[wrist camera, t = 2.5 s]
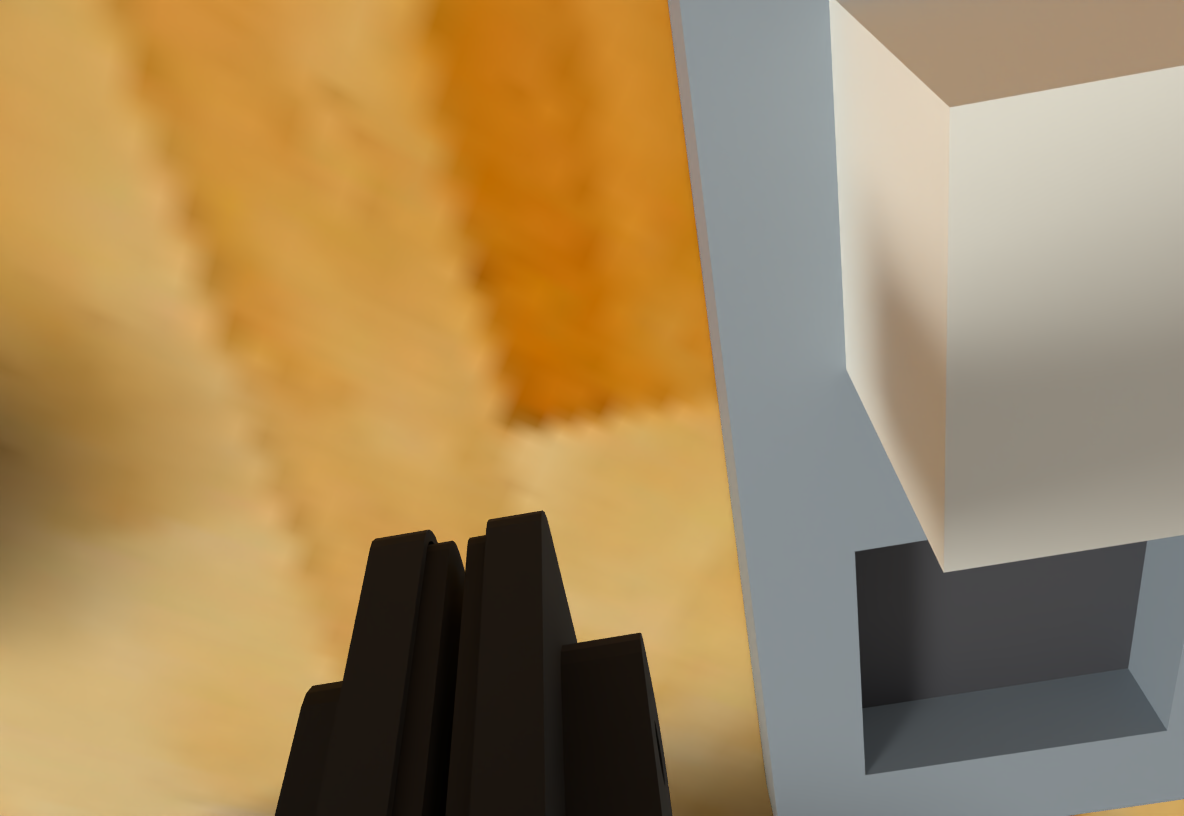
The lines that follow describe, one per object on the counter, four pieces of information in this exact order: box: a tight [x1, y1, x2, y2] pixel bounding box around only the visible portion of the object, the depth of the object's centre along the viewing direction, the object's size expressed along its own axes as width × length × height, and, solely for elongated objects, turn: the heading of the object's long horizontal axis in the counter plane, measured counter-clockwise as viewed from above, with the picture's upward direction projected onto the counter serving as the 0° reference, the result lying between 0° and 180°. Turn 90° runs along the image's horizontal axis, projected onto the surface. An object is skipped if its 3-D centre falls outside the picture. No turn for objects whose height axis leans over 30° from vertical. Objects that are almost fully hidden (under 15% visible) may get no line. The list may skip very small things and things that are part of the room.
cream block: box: [829, 0, 1184, 573], centre depth 14 cm, size 6×6×5 cm
